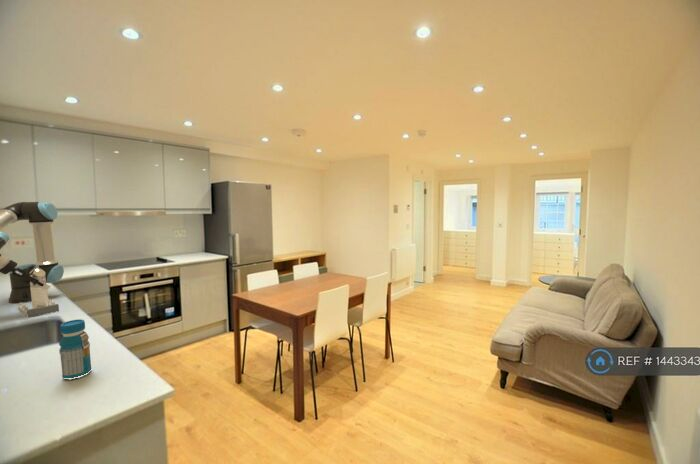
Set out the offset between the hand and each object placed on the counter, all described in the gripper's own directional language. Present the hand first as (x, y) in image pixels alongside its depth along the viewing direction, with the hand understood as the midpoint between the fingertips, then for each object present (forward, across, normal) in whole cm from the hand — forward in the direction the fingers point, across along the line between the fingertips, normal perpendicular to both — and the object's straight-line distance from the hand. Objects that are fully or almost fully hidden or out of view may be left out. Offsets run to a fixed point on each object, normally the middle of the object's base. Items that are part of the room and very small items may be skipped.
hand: (47, 287), depth 187 cm
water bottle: (+6, 0, -11) cm, 12 cm away
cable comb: (+7, -7, -12) cm, 16 cm away
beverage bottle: (+1, +106, -19) cm, 108 cm away
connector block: (+7, +6, -12) cm, 15 cm away
